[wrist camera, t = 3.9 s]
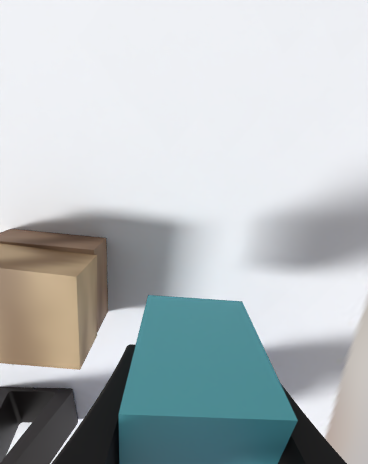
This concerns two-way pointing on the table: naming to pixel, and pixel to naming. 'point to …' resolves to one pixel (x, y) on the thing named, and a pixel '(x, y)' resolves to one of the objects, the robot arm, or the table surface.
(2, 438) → the phone stand
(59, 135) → the table surface
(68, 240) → the tower base
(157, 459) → the teal cube
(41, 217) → the table surface
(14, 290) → the tower top
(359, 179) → the table surface
